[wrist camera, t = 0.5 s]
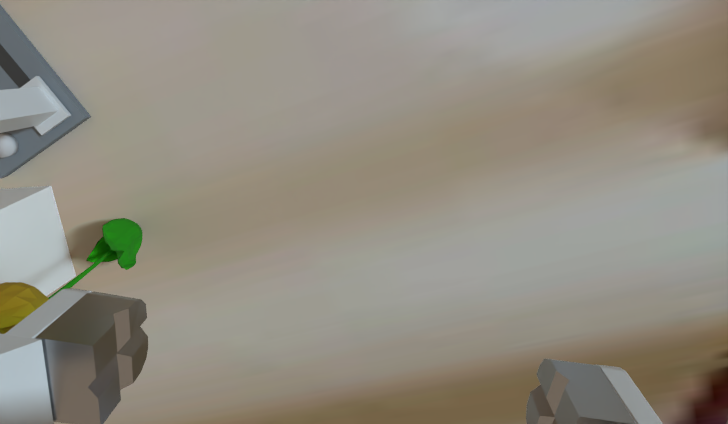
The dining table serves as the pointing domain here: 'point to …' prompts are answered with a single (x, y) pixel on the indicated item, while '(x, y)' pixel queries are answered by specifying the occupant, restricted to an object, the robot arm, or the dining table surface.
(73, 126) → the control board
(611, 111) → the dining table surface
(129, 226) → the flower
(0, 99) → the grey lever
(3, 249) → the milk
